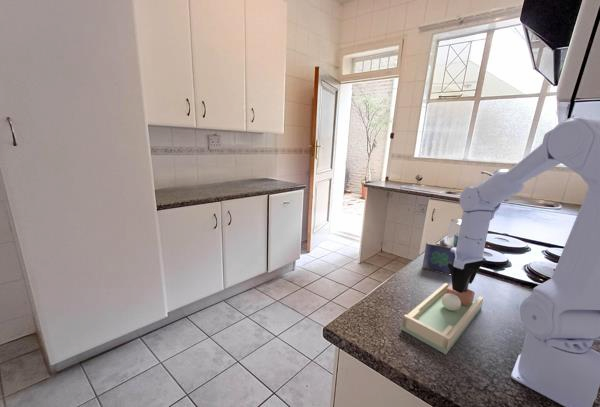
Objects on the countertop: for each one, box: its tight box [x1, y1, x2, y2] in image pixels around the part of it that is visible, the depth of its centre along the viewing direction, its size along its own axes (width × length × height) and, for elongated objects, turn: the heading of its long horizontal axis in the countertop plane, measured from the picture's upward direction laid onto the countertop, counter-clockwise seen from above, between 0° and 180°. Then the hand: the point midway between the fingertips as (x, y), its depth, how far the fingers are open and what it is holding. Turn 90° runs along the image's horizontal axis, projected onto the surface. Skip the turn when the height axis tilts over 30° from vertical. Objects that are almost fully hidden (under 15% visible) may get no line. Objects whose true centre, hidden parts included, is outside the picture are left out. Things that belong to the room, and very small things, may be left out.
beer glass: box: [446, 218, 462, 247], centre depth 92 cm, size 7×7×15 cm
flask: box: [421, 239, 456, 275], centre depth 86 cm, size 9×3×11 cm, turn 61°
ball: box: [442, 293, 461, 311], centre depth 64 cm, size 4×4×4 cm
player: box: [446, 278, 475, 306], centre depth 68 cm, size 5×4×7 cm
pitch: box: [401, 282, 484, 355], centre depth 62 cm, size 9×24×4 cm, turn 132°
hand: (462, 286), depth 68 cm, fingers open, 7 cm apart
